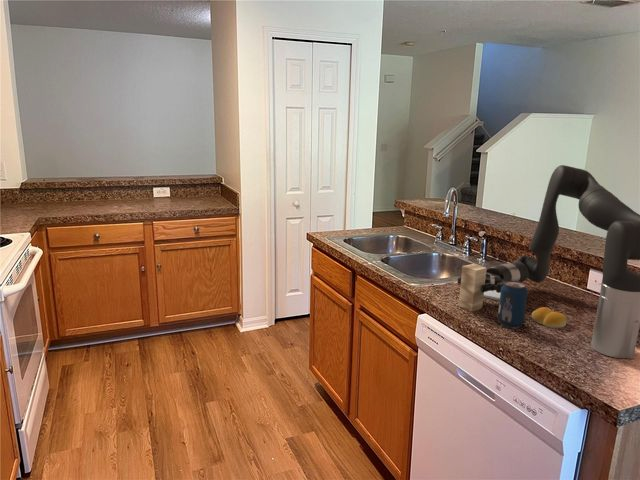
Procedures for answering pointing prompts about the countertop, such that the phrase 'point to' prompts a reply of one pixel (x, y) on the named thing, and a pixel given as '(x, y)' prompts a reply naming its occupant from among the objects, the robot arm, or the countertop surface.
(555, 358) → the countertop surface
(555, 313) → the bread roll
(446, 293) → the countertop surface
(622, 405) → the countertop surface
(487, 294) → the ceramic tile
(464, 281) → the maple block
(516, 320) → the soda can
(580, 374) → the countertop surface
